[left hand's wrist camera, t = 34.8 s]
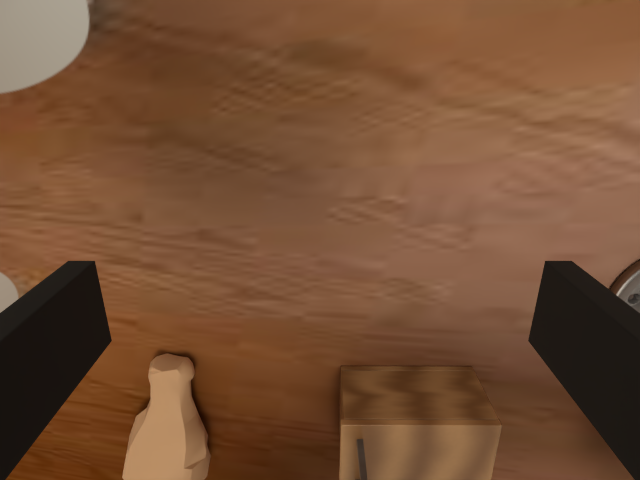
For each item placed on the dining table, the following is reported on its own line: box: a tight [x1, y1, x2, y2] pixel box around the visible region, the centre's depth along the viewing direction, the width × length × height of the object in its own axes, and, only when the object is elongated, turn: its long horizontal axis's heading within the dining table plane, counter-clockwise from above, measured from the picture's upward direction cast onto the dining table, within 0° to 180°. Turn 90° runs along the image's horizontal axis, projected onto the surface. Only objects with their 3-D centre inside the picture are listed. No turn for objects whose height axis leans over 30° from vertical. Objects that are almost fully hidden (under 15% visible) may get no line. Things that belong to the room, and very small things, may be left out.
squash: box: [123, 353, 211, 480], centre depth 55 cm, size 11×20×9 cm, turn 177°
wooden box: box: [339, 366, 499, 435], centre depth 53 cm, size 17×11×9 cm, turn 90°
